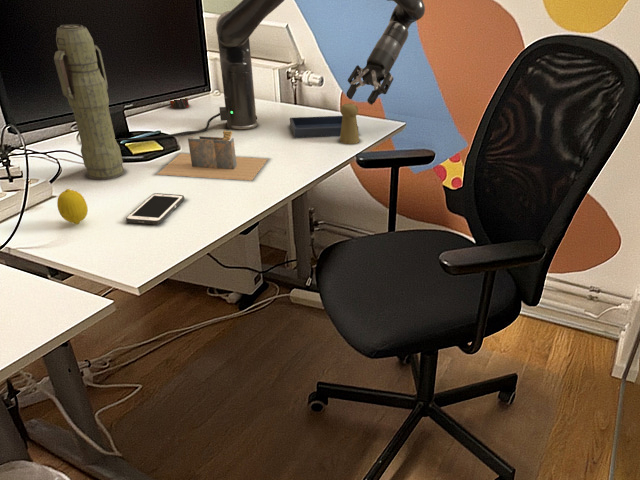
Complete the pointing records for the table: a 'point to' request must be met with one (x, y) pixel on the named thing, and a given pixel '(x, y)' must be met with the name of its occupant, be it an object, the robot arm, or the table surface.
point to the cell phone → (155, 208)
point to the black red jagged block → (179, 104)
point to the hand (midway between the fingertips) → (358, 100)
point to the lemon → (72, 206)
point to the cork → (349, 124)
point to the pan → (316, 126)
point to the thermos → (88, 100)
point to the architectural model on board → (213, 160)
